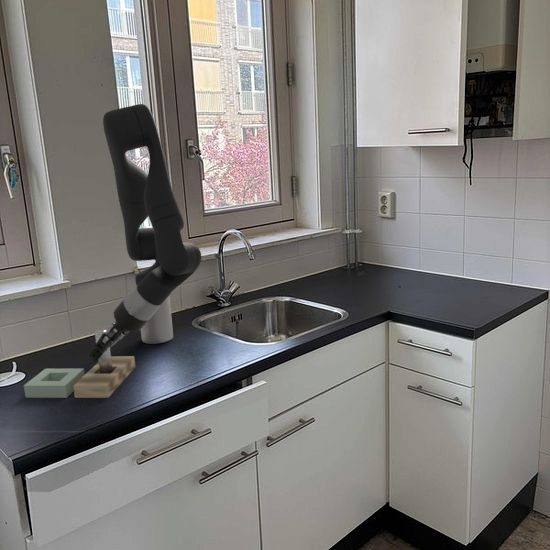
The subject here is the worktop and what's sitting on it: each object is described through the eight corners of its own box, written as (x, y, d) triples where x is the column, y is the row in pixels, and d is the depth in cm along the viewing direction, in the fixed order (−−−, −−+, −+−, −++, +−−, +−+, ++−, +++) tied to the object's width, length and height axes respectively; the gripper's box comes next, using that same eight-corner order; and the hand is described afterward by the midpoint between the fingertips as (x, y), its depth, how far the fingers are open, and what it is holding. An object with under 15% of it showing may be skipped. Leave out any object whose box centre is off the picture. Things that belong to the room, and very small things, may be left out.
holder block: (47, 379, 139) (45, 368, 139) (85, 379, 138) (83, 368, 138) (25, 397, 130) (23, 385, 129) (66, 397, 129) (64, 385, 128)
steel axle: (103, 375, 138) (97, 329, 135) (115, 375, 138) (109, 328, 135) (98, 380, 135) (92, 333, 132) (110, 380, 135) (104, 333, 132)
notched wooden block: (105, 367, 146) (104, 356, 145) (135, 367, 145) (134, 356, 144) (74, 397, 128) (73, 385, 128) (108, 397, 127) (106, 385, 127)
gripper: (138, 288, 137) (99, 335, 142) (112, 305, 124) (69, 355, 129) (161, 309, 137) (120, 355, 142) (137, 328, 124) (93, 377, 129)
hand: (96, 355), depth 136 cm, fingers closed on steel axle, 3 cm apart
